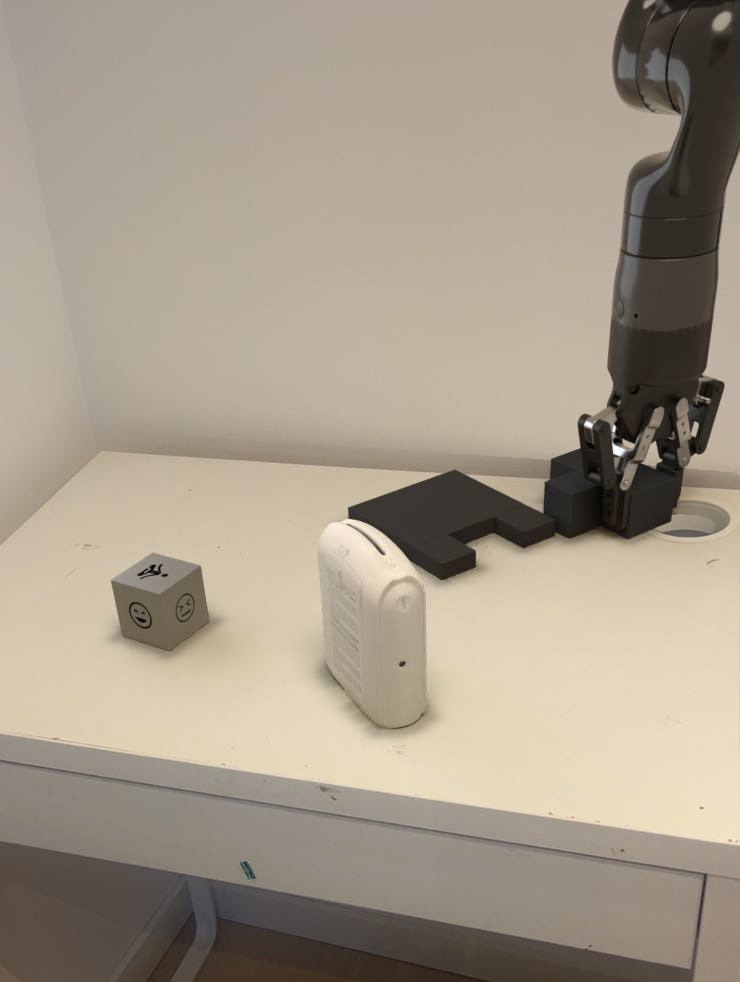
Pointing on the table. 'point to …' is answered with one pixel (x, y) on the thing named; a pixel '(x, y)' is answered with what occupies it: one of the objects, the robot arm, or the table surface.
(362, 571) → the photo printer
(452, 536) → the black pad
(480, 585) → the table surface
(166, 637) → the dice cube
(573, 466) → the black t-shaped block
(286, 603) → the table surface
